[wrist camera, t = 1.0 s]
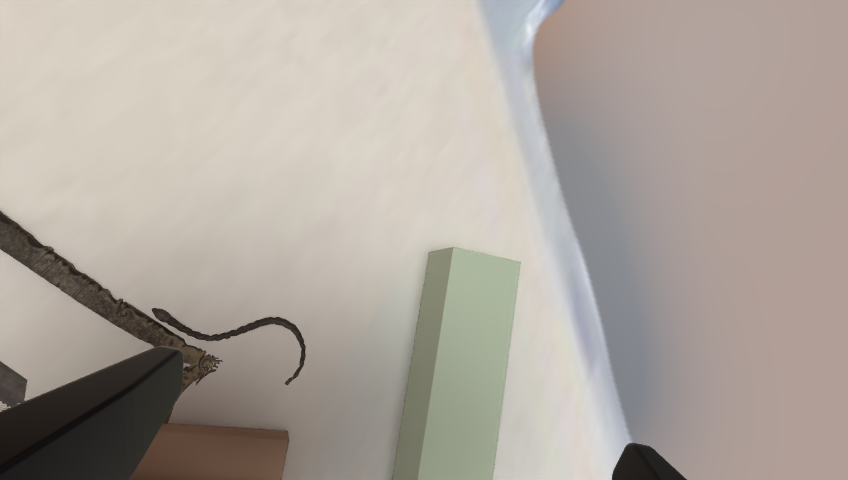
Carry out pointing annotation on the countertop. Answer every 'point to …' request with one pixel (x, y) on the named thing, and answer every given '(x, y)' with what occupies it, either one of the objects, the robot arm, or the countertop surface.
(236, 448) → the ridge stand
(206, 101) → the countertop surface
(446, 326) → the bar
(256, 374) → the countertop surface
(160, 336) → the brown tree branch
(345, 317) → the countertop surface
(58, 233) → the countertop surface
